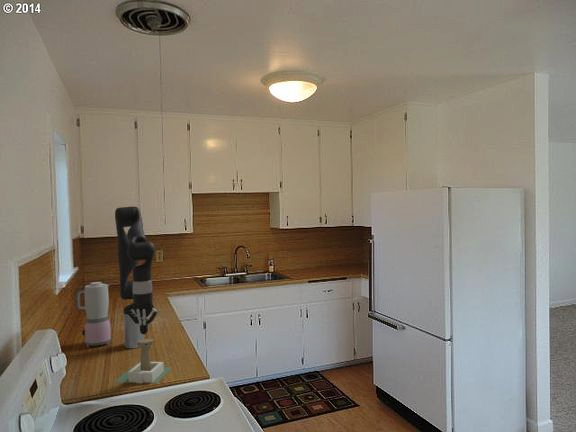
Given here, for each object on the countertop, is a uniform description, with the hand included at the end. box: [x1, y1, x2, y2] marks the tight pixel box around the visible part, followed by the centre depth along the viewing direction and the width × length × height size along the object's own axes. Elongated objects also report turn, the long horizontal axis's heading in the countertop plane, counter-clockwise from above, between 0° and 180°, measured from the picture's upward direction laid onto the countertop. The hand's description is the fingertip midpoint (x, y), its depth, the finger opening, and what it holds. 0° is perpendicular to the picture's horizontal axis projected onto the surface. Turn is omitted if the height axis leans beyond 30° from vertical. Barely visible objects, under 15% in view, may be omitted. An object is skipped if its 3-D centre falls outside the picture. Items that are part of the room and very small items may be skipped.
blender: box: [75, 281, 112, 348], centre depth 216 cm, size 16×12×32 cm
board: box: [113, 366, 173, 384], centre depth 174 cm, size 16×18×1 cm
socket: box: [128, 361, 165, 384], centre depth 171 cm, size 12×10×4 cm
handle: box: [137, 338, 155, 371], centre depth 170 cm, size 5×6×15 cm
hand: (144, 333), depth 170 cm, fingers closed
